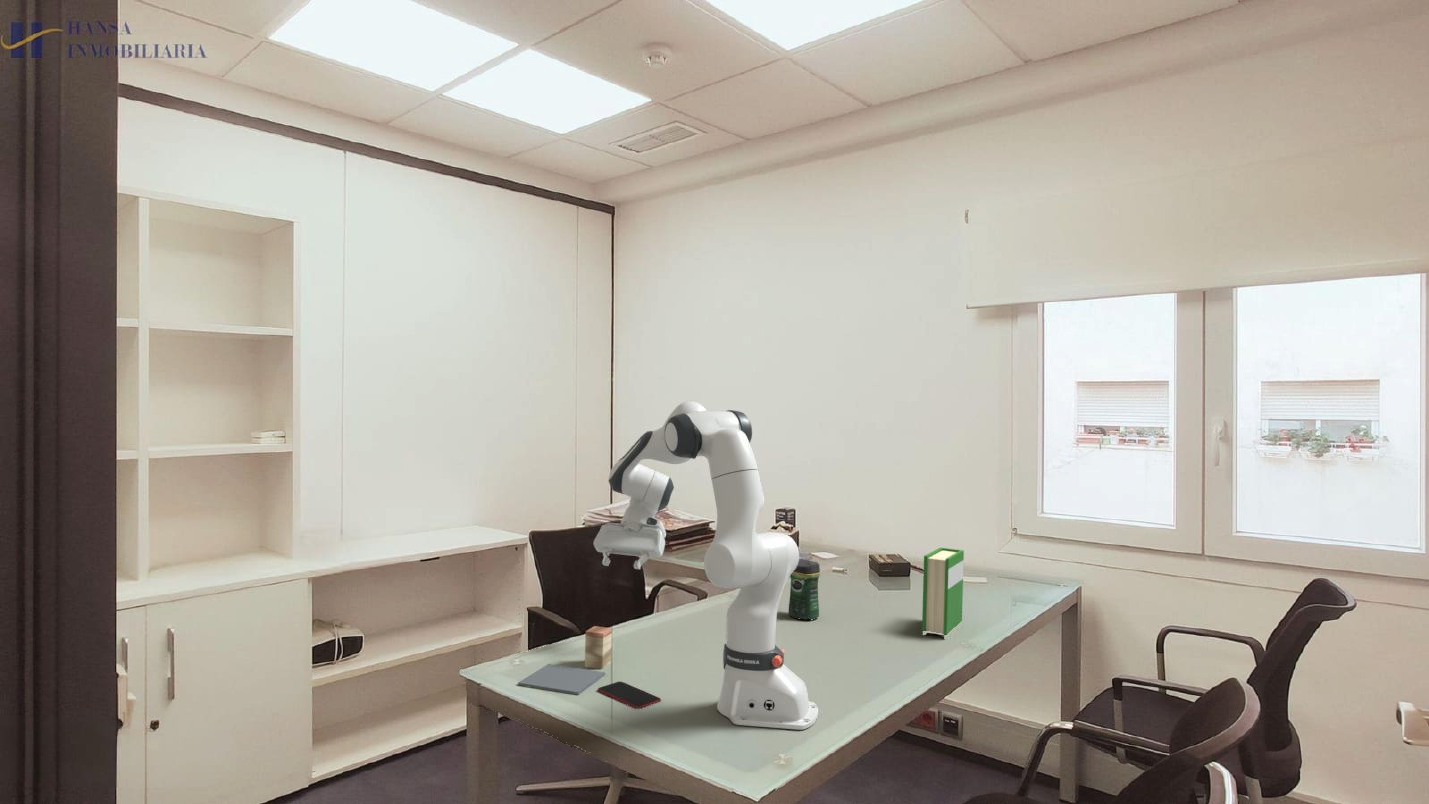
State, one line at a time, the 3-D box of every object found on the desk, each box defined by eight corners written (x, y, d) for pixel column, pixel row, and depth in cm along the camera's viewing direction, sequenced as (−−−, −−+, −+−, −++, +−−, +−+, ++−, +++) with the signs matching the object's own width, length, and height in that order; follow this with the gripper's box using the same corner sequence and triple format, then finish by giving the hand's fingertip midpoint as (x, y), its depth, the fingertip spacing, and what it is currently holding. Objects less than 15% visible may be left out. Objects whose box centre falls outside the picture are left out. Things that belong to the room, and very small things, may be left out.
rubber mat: (605, 674, 188) (605, 672, 188) (578, 694, 174) (578, 692, 174) (548, 666, 193) (548, 663, 193) (517, 685, 179) (518, 682, 179)
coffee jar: (823, 618, 243) (824, 561, 243) (807, 622, 238) (808, 564, 238) (799, 612, 250) (801, 556, 250) (784, 616, 245) (785, 558, 245)
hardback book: (946, 639, 224) (948, 559, 224) (921, 635, 228) (924, 555, 228) (961, 626, 239) (963, 550, 239) (938, 621, 243) (940, 547, 243)
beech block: (610, 662, 197) (611, 628, 197) (602, 669, 192) (603, 633, 192) (593, 660, 198) (594, 626, 198) (584, 666, 193) (585, 631, 193)
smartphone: (638, 707, 167) (596, 688, 177) (638, 711, 167) (596, 692, 177) (662, 698, 172) (620, 680, 183) (662, 702, 172) (620, 684, 183)
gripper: (600, 515, 217) (583, 555, 208) (666, 521, 211) (651, 563, 202) (606, 528, 222) (590, 568, 212) (671, 535, 215) (657, 576, 206)
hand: (620, 566), depth 207 cm, fingers open, 8 cm apart
